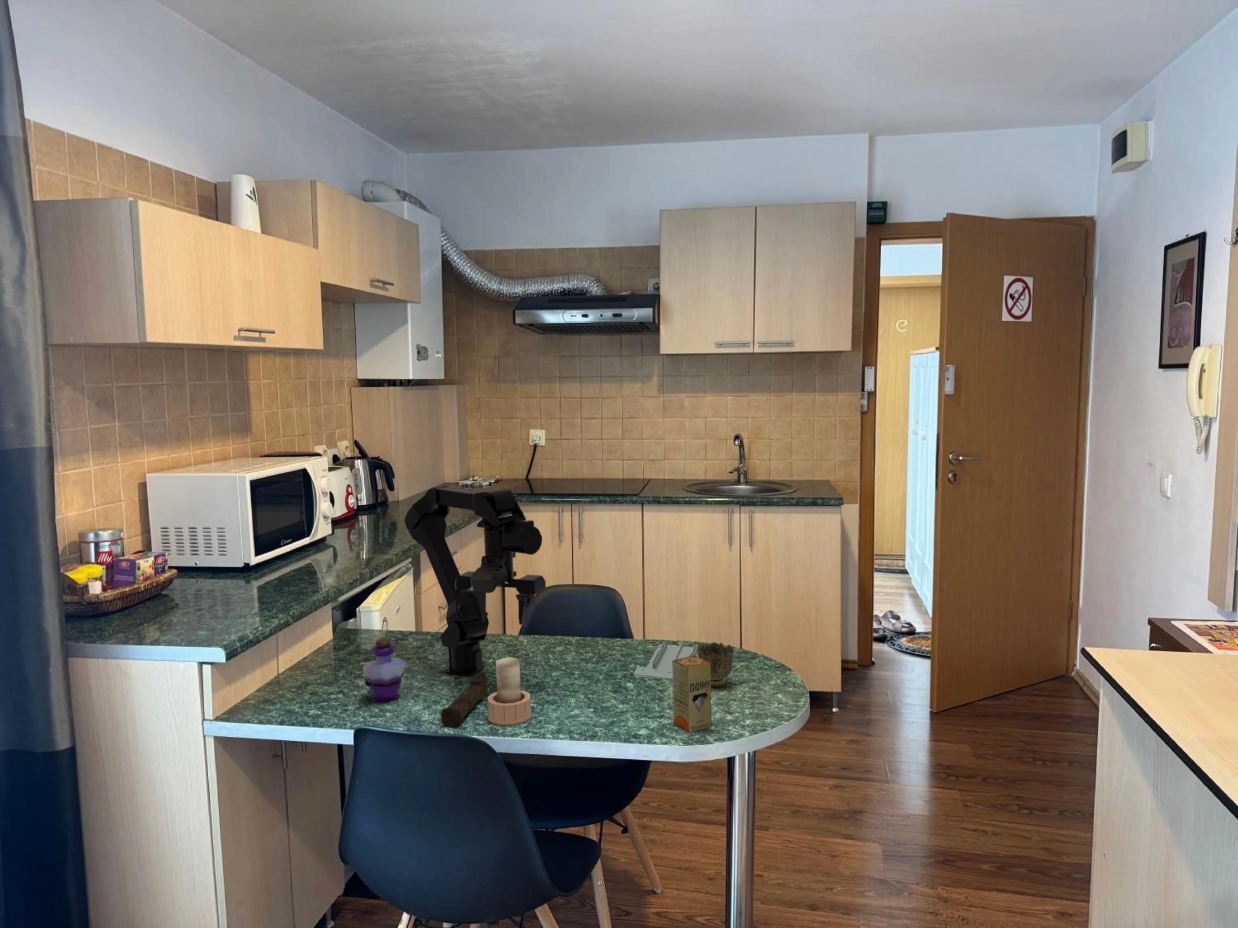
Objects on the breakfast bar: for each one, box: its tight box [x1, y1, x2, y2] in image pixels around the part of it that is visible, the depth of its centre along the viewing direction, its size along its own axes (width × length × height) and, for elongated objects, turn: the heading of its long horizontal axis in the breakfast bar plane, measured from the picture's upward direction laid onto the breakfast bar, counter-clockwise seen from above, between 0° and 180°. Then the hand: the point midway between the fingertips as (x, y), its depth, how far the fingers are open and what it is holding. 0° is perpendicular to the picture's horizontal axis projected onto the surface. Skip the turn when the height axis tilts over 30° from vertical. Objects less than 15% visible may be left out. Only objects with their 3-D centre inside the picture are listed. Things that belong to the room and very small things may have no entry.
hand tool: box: [440, 672, 488, 728], centre depth 166 cm, size 19×4×5 cm, turn 166°
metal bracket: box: [633, 640, 699, 681], centre depth 185 cm, size 14×6×15 cm
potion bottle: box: [362, 638, 407, 703], centre depth 172 cm, size 9×9×12 cm
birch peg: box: [495, 657, 522, 704], centre depth 161 cm, size 4×4×10 cm
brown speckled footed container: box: [698, 641, 735, 688], centre depth 175 cm, size 8×7×8 cm
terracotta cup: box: [487, 689, 532, 726], centre depth 161 cm, size 8×8×4 cm
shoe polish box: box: [672, 655, 712, 734], centre depth 155 cm, size 5×5×12 cm
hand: (501, 622), depth 178 cm, fingers open, 9 cm apart
